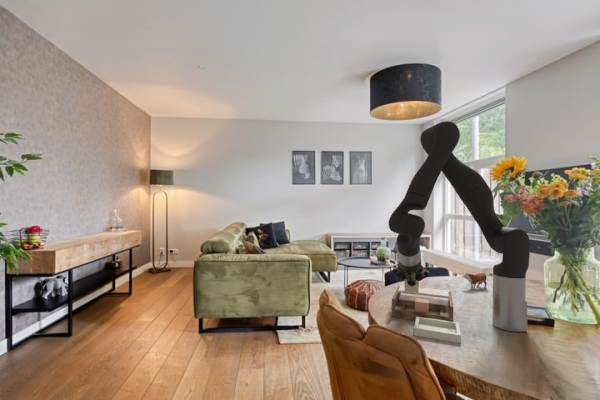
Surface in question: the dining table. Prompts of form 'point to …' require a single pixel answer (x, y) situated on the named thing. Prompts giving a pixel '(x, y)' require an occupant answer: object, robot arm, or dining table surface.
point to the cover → (422, 290)
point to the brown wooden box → (406, 310)
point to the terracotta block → (422, 305)
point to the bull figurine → (475, 279)
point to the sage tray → (437, 329)
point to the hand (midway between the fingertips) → (411, 284)
